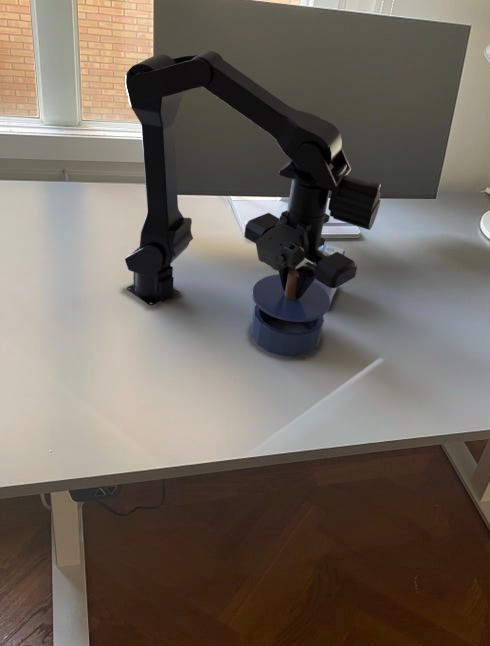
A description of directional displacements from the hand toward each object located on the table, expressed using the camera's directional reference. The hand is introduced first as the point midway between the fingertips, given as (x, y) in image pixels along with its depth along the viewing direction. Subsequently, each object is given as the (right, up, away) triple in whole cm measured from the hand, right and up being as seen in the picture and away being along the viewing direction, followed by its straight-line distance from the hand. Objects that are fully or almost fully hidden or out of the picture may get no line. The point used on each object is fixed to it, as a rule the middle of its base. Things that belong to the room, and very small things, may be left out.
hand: (292, 293), depth 117 cm
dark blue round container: (-2, -7, +6) cm, 9 cm away
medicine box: (+4, +1, +18) cm, 18 cm away
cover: (0, -1, +1) cm, 1 cm away
